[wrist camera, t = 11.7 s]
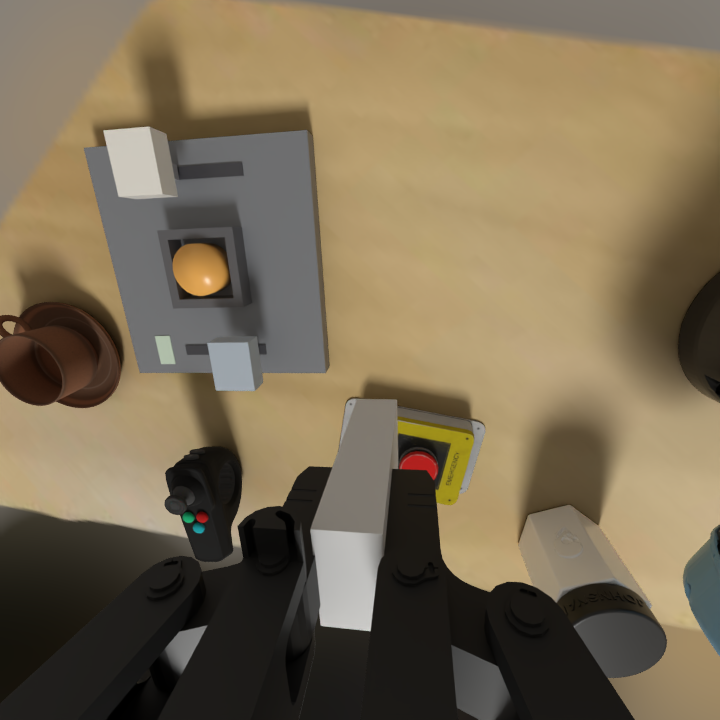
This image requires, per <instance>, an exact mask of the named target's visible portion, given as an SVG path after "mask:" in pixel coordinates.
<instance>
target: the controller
mask: <svg viewBox="0 0 720 720" xmlns="http://www.w3.org/2000/svg"><path fill="white" fill-rule="evenodd" d="M165 474H166V481H167V485H168V488H169V492H170V496H169V497H168V498H167V499H166V500H165V507H166V509H167V510H168V511H169V512H170V513H172V514H175V515H180V516H181V519H182V522H183V525H184V527H185V530H186V533H187V536H188V538H189V541H190V544H191V547H192V549H193V552H194V554H195V557H196V559H198V560H200V561H204V562H218V561H221V560H223V559H224V558H226V557H227V556H229V555H230V554H231V553H232V552H233V545H232V537H231V526H232V523H233V520H234V518H235V516H236V514H237V511H238V508H239V504H240V499H241V492H242V476H241V469H240V465H239V463H238V460H237V459H236V457H235V455H234V454H233V453H232V452H231V451H230V450H228V449H226V448H223V447H218V446H217V447H203V448H200V449H194V450H191V451H190V454H189V455H185V456H184V458H183V459H182V460H180V461H179V462H177V463H176V464H175V465H174V467H171V468H169V469H168V470H167V471H166V473H165Z"/></svg>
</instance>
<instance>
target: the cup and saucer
mask: <svg viewBox="0 0 720 720" xmlns="http://www.w3.org/2000/svg"><path fill="white" fill-rule="evenodd" d="M5 321H12V322H16V325H15V328H14V333H13V335H12V334H10V333H8V332H7V331H6V330H5V329H4V328H3V326H2V324H3V322H5ZM0 335H1V336H2V337H3V338H2V339H1V340H0V382H1V384H2V385H3V386H4V387H5V388H6V389H7V390H8V391H9V392H10V393H11V394H12V395H13V396H15V397H16V398H18V399H19V400H21V401H23V402H25V403H28V404H31V405H37V406H44V405H49V404H51V403H54V402H58V403H61V404H63V405H66V406H70V407H75V408H89V407H94V406H97V405H99V404H101V403H103V402H104V401H106V400H107V399H108V398H109V397H110V396H111V395H112V394H113V393H114V391H115V390H116V388H117V386H118V383H119V380H120V374H121V365H120V359H119V355H118V352H117V349H116V347H115V345H114V342H113V341H112V339H111V337H110V336H109V334H108V333H107V332H106V330H105V329H104V328H103V327H102V326H101V325H100V324H99V323H98V322H97V321H96V320H95V319H94V318H93V317H91V316H90V315H89V314H87V313H86V312H84V311H82V310H80V309H78V308H76V307H74V306H71V305H68V304H64V303H57V302H45V303H39V304H36V305H33V306H31V307H29V308H28V309H26V310H25V311H24V312H23V313H22V314H21V315H20V317H16V316H12V315H2V316H0Z"/></svg>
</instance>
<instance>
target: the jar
mask: <svg viewBox="0 0 720 720" xmlns="http://www.w3.org/2000/svg"><path fill="white" fill-rule="evenodd" d="M518 546H519V549H520V552H521V555H522V557H523V560H524V563H525V566H526V568H527V571H528V574H529V576H530V579H531V582H532V585H533V587H536V588H538V589H540V590H541V591H543V592H544V593H546V594H547V595H549V596H550V597H552V599H553V600H554V601H555V602H556V603H557V604H558V605H559V607H560V608H561V609H562V610H563V611H564V613H565V614H566V616H567V617H568V619H569V620H570V622H571V623H572V625H573V626H574V628H575V629H576V631H577V633H578V634H579V636H580V637H581V639H582V640H583V642H584V643H585V645H586V646H587V648H588V649H589V651H590V652H591V654H592V655H593V657H594V658H595V660H596V662H597V663H598V665H599V666H600V668H601V669H602V671H603V672H604V674H605V675H606V677H607V678H619V677H627V676H631V675H635V674H638V673H641V672H643V671H645V670H647V669H649V668H651V667H652V666H653V665H655V664H656V663H657V662H658V661H659V660H660V659H661V658H662V656H663V654H664V652H665V649H666V644H667V639H666V635H665V632H664V630H663V628H662V627H661V625H660V624H659V622H658V621H657V619H656V618H655V616H654V615H653V613H652V612H651V610H650V608H651V606H652V605H651V603H650V601H649V600H648V598H647V597H646V595H645V594H644V592H643V591H642V589H641V588H640V586H639V585H638V583H637V582H636V580H635V579H634V577H633V576H632V574H631V573H630V571H629V570H628V568H627V567H626V565H625V564H624V562H623V561H622V559H621V558H620V556H619V555H618V553H617V552H616V550H615V549H614V547H613V546H612V544H611V543H610V541H609V540H608V538H607V537H606V535H605V534H604V532H603V531H602V529H601V528H600V527H599V526H598V525H597V524H595V523H594V522H593V521H591V520H590V519H589V518H587V517H586V516H585V515H583V514H582V513H581V512H579V511H578V510H577V509H575V508H574V507H572V506H571V505H565V506H561V507H557V508H553V509H549V510H545V511H541V512H537V513H533V514H529V515H528V517H527V520H526V523H525V526H524V529H523V532H522V535H521V538H520V541H519V544H518Z"/></svg>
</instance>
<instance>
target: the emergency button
mask: <svg viewBox="0 0 720 720" xmlns="http://www.w3.org/2000/svg"><path fill="white" fill-rule="evenodd" d="M357 399H358V398H352V399H350V400H348V401H347V403H346V407H345V413H344V420H343V426H342V432H341V439H340V445H341V442H342V439H343V437H344V434H345V431H346V428H347V425H348V423H349V420H350V417H351V414H352V411H353V409H354V406H355V403H356V400H357ZM397 421H398V469H411V470H427V471H428V473H429V474H430V476H431V477H432V478H433V480H434V481H435V490H436V502H437V503H440V504H444V505H452V504H454V503H456V501H457V499H458V496H459V494H461V493H464V492H466V490H467V489H468V486H469V483H470V480H471V476H472V473H473V470H474V467H475V463H476V460H477V457H478V454H479V451H480V447H481V444H482V441H483V438H484V434H485V426H484V425H483V424H482V423H480V422H478V421H474V420H469V419H464V418H458V417H453V416H448V415H443V414H437V413H432V412H427V411H422V410H416V409H411V408H406V407H400V406H397ZM340 445H339V448H340Z"/></svg>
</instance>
